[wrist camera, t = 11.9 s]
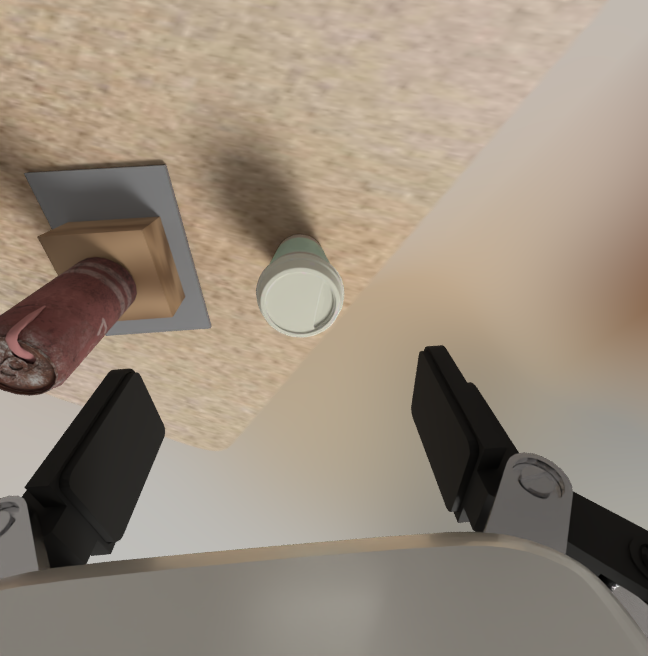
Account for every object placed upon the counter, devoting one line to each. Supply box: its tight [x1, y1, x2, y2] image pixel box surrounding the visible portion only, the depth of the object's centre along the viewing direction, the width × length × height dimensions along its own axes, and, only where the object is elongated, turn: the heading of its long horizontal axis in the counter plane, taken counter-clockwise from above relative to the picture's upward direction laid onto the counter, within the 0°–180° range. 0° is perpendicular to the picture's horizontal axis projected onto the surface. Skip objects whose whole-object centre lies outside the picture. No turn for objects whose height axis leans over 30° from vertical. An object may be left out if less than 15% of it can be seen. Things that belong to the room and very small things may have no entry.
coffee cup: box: [256, 234, 344, 337], centre depth 35 cm, size 8×9×12 cm
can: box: [0, 257, 137, 396], centre depth 29 cm, size 6×6×14 cm
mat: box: [24, 165, 211, 336], centre depth 39 cm, size 20×14×1 cm
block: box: [38, 217, 185, 321], centre depth 37 cm, size 10×10×5 cm
